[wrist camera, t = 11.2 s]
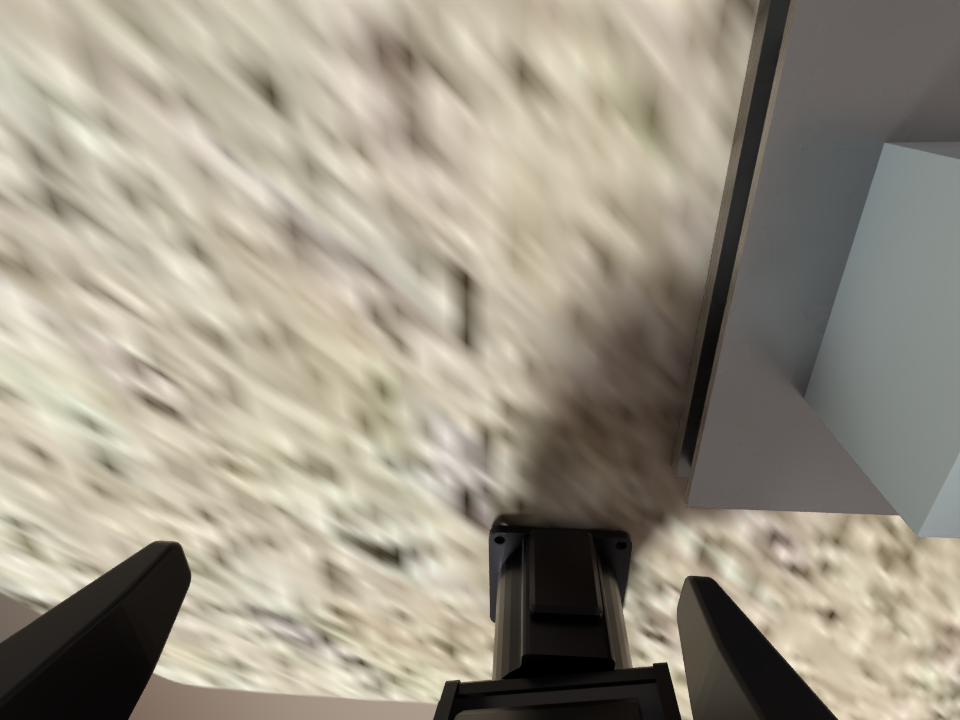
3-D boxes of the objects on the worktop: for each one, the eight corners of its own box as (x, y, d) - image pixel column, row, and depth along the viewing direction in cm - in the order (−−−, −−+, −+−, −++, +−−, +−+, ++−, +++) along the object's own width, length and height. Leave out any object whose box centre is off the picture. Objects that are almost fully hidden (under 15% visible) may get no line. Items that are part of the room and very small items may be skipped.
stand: (948, 473, 22) (994, 518, 20) (671, 464, 23) (686, 507, 21) (1235, -92, 13) (1372, -120, 11) (773, -72, 14) (818, -97, 12)
